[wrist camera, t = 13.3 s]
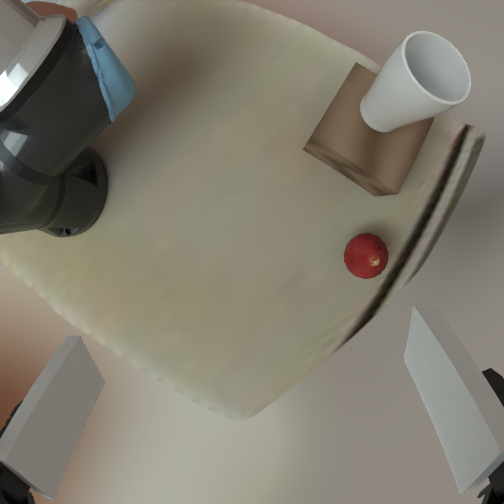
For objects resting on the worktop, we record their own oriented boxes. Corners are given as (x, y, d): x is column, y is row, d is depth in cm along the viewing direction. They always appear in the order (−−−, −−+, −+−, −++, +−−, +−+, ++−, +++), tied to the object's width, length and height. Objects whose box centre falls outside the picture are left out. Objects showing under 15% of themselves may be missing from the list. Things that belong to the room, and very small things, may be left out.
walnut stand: (302, 149, 40) (311, 136, 32) (342, 85, 39) (356, 62, 31) (375, 196, 41) (397, 194, 33) (409, 130, 39) (434, 117, 31)
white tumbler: (343, 93, 31) (385, 32, 17) (390, 82, 31) (448, 27, 16) (366, 146, 32) (426, 112, 17) (412, 132, 31) (485, 99, 17)
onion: (356, 223, 41) (375, 226, 33) (384, 249, 42) (407, 257, 34) (330, 255, 42) (344, 265, 34) (359, 280, 42) (378, 295, 34)
